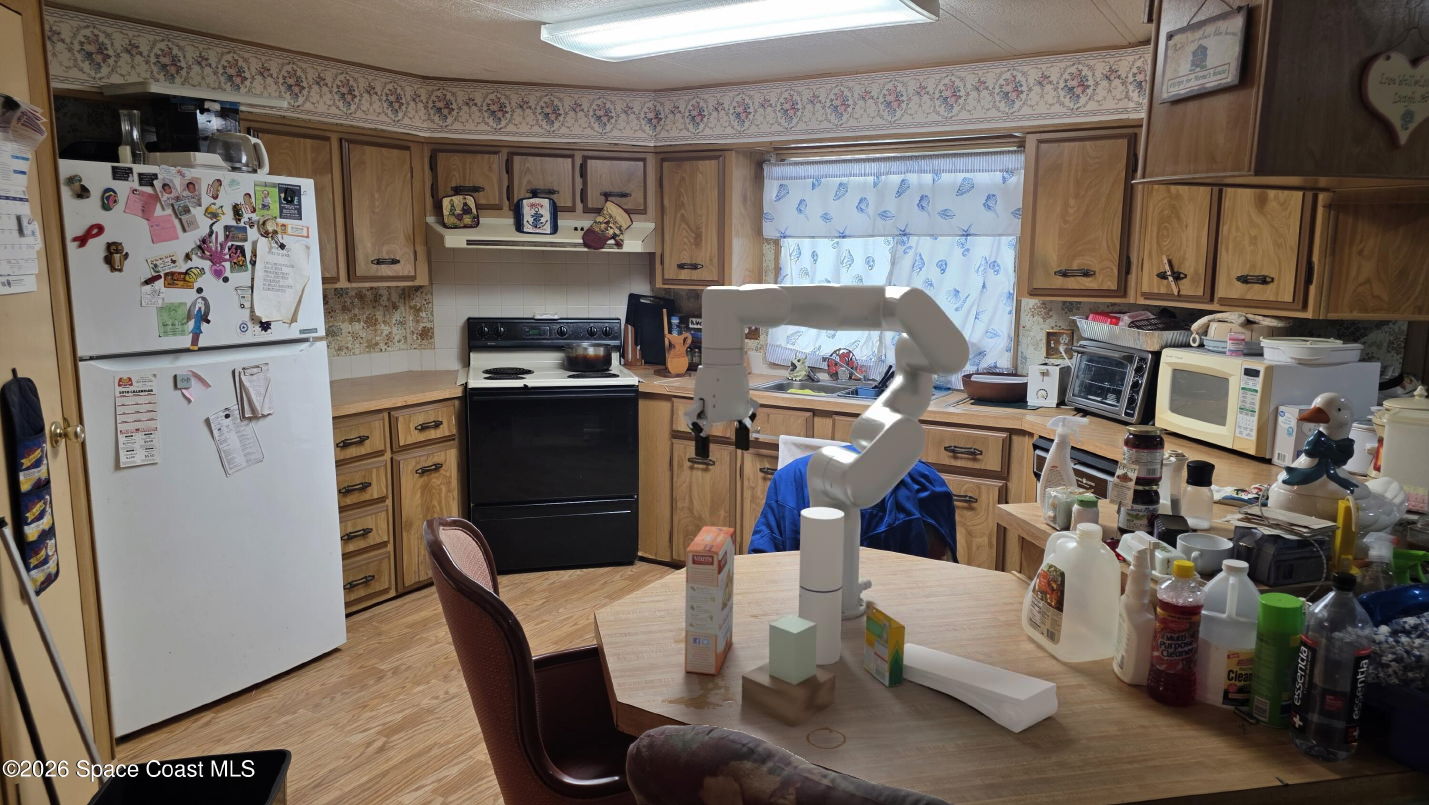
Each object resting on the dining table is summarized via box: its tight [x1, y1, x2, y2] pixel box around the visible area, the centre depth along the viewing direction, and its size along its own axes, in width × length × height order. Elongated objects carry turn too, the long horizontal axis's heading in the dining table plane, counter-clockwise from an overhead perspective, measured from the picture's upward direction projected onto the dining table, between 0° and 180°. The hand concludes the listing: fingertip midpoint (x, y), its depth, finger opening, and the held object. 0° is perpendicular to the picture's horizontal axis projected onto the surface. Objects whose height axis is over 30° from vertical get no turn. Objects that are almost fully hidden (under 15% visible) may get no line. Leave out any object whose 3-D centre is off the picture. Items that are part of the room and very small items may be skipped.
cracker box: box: [684, 525, 736, 676], centre depth 150 cm, size 14×6×21 cm, turn 168°
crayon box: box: [863, 601, 906, 688], centre depth 144 cm, size 7×3×12 cm, turn 22°
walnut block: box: [741, 661, 837, 729], centre depth 135 cm, size 10×10×5 cm
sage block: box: [768, 614, 817, 685], centre depth 134 cm, size 5×5×8 cm
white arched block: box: [903, 642, 1059, 734], centre depth 140 cm, size 10×7×28 cm
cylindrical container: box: [798, 507, 844, 666], centre depth 150 cm, size 7×7×25 cm
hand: (722, 453), depth 159 cm, fingers open, 9 cm apart
